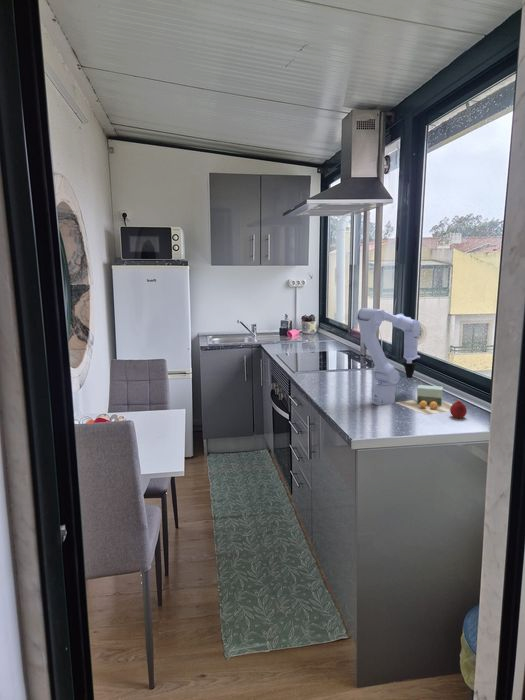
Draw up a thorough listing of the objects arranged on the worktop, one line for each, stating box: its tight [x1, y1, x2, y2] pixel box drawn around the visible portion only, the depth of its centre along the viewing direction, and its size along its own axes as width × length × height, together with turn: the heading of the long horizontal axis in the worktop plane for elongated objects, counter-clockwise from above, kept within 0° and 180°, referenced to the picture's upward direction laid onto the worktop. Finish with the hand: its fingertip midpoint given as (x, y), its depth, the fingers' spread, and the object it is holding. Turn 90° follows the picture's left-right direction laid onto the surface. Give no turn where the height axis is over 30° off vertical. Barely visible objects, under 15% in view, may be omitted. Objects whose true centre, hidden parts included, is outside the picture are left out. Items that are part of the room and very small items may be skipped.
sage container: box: [416, 384, 444, 406], centre depth 194 cm, size 10×6×7 cm, turn 68°
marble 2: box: [430, 401, 437, 409], centre depth 187 cm, size 3×3×3 cm
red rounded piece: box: [449, 399, 467, 419], centre depth 175 cm, size 6×6×8 cm
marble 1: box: [420, 401, 427, 408], centre depth 188 cm, size 3×3×3 cm
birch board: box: [395, 398, 453, 416], centre depth 192 cm, size 20×19×1 cm
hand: (410, 375), depth 205 cm, fingers open, 7 cm apart
